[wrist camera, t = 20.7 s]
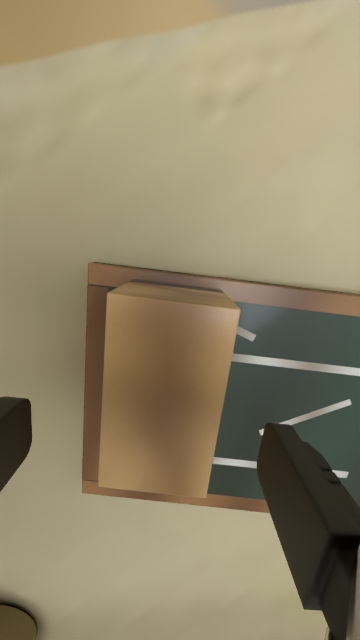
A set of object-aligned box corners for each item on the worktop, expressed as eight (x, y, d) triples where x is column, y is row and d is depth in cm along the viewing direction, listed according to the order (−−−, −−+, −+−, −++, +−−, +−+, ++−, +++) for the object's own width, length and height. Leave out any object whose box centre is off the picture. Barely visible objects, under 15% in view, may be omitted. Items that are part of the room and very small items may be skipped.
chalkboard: (87, 478, 19) (81, 493, 18) (95, 262, 15) (87, 262, 14) (374, 509, 20) (386, 525, 18) (457, 306, 16) (479, 310, 14)
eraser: (122, 418, 16) (97, 487, 12) (132, 278, 14) (106, 292, 9) (199, 427, 17) (206, 499, 12) (221, 289, 14) (241, 308, 9)
